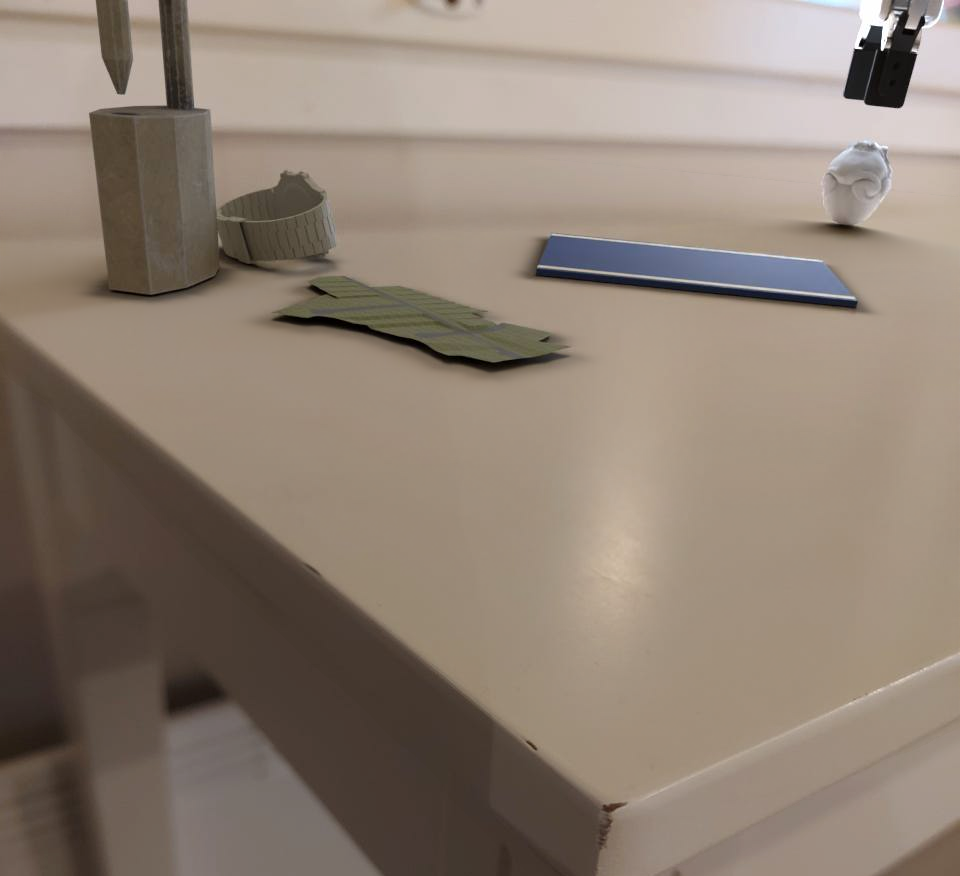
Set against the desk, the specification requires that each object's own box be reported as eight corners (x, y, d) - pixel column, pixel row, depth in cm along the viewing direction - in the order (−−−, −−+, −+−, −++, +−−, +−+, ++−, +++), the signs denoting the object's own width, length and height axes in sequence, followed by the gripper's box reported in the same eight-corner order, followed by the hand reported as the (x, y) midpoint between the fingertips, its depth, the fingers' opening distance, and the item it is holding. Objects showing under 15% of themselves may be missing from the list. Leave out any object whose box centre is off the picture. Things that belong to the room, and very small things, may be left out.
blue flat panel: (820, 264, 74) (821, 259, 74) (856, 307, 62) (858, 300, 62) (550, 238, 75) (551, 232, 75) (535, 275, 64) (536, 268, 63)
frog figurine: (891, 226, 94) (913, 144, 90) (863, 233, 89) (885, 146, 86) (829, 216, 97) (848, 136, 93) (799, 221, 92) (818, 137, 89)
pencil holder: (95, 288, 52) (52, -60, 45) (169, 261, 59) (144, -45, 51) (165, 298, 52) (134, -54, 44) (232, 269, 59) (216, -40, 51)
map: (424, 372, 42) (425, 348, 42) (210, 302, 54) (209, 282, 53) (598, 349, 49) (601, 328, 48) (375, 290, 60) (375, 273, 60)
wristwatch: (361, 268, 61) (362, 179, 59) (273, 278, 57) (270, 183, 55) (276, 241, 67) (274, 158, 64) (191, 248, 63) (184, 160, 60)
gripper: (1018, -155, 72) (939, 114, 81) (952, -123, 86) (892, 102, 95) (911, -164, 72) (845, 104, 81) (864, -131, 87) (812, 93, 96)
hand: (870, 103), depth 88 cm, fingers open, 9 cm apart
